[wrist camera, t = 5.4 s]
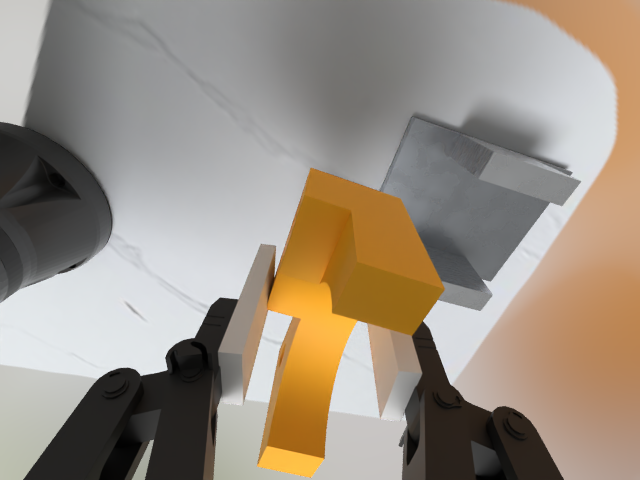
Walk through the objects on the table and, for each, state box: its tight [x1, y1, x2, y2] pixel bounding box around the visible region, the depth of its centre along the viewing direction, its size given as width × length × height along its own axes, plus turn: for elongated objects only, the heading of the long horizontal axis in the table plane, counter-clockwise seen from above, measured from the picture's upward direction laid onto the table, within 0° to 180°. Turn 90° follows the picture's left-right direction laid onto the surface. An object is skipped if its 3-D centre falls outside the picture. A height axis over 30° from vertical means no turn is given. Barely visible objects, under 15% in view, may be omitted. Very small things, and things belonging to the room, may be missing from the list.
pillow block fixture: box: [380, 117, 581, 311], centre depth 27 cm, size 16×13×7 cm
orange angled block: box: [257, 168, 445, 478], centre depth 14 cm, size 12×4×6 cm, turn 161°
